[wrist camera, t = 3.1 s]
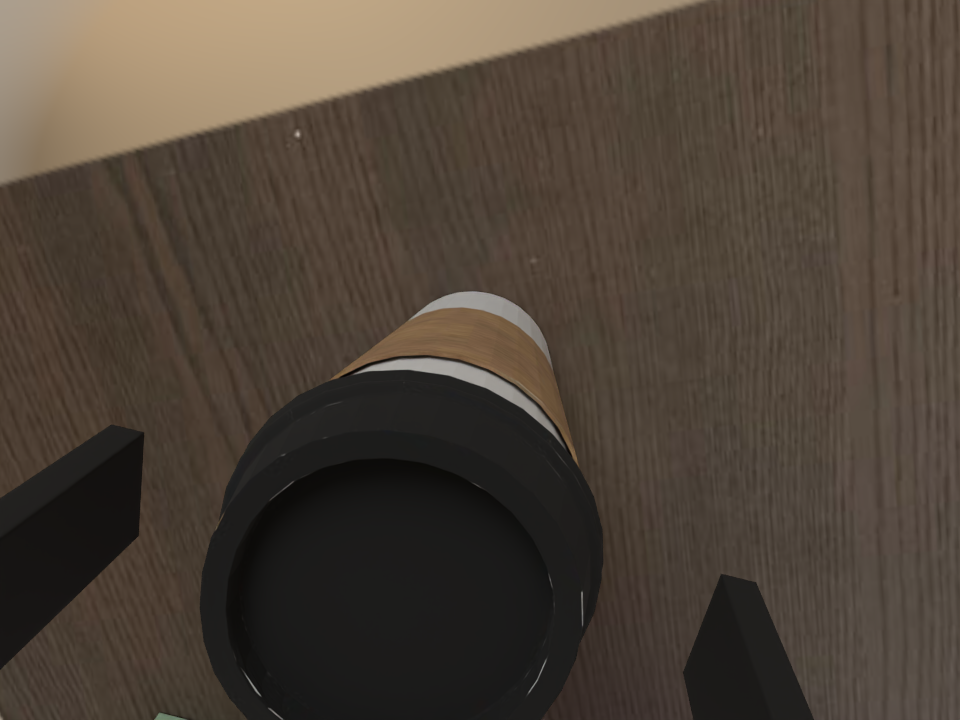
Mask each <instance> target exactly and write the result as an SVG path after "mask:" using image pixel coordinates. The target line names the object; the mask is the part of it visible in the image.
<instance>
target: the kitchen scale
mask: <svg viewBox="0 0 960 720" xmlns="http://www.w3.org/2000/svg"><path fill="white" fill-rule="evenodd" d="M155 720H187V719H183V718H179V717H175V716H171V715H167V714H163V713H159V714H158V715H157V717H156V718H155Z"/></svg>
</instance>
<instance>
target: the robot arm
mask: <svg viewBox="0 0 960 720" xmlns="http://www.w3.org/2000/svg"><path fill="white" fill-rule="evenodd" d="M143 445H144V432H140V431H136V430H132V429H128V428H124V427H119V426H115V425H110V426H109V427H107V428H106V429H104V430H103V431H101V432H100V433H98V434H97V435H95V436H94V437H92V438H91V439H89V440H88V441H86V442H85V443H83V444H82V445H80V446H79V447H77V448H76V449H74V450H73V451H71V452H69V453H68V454H66V455H65V456H63V457H62V458H60V459H59V460H57V461H56V462H54V463H53V464H51V465H50V466H48V467H47V468H45V469H44V470H42V471H41V472H39V473H38V474H36V475H35V476H33V477H32V478H30V479H29V480H27V481H26V482H24V483H23V484H21V485H20V486H18V487H17V488H15V489H14V490H12V491H11V492H9V493H8V494H6V495H5V496H3V497H2V498H0V669H1V668H2V667H3V666H4V665H6V664H7V663H8V662H9V661H10V660H11V659H12V658H13V657H14V656H15V655H16V654H17V653H18V652H19V651H20V650H21V649H22V648H23V647H24V646H25V645H26V644H27V643H28V642H29V641H30V640H31V639H32V638H33V637H34V636H35V635H37V634H38V633H39V632H40V631H41V630H42V629H43V628H44V627H45V626H46V625H47V624H48V623H49V622H50V621H51V620H52V619H53V618H54V617H55V616H56V615H57V614H58V613H59V612H60V611H61V610H62V609H63V608H64V607H65V606H67V605H68V604H69V603H70V602H71V601H72V600H73V599H74V598H75V597H76V596H77V595H78V594H79V593H80V592H81V591H82V590H83V589H84V588H85V587H86V586H87V585H88V584H89V583H90V582H91V581H92V580H93V579H94V578H95V577H96V576H98V575H99V574H100V573H101V572H102V571H103V570H104V569H105V568H106V567H107V566H108V565H109V564H110V563H111V562H112V561H113V560H114V559H115V558H116V557H117V556H118V555H119V554H120V553H121V552H122V551H123V550H124V549H125V548H126V547H127V546H129V545H130V544H131V543H132V542H133V541H134V540H135V539H136V538H137V537H138V536H139V519H140V500H141V482H142V463H143ZM683 674H684V679H685V683H686V688H687V692H688V697H689V701H690V706H691V711H692V715H693V720H814V719H813V716H812V714H811V711H810V709H809V707H808V704H807V702H806V700H805V697H804V695H803V692H802V690H801V688H800V685H799V683H798V681H797V678H796V676H795V674H794V671H793V669H792V666H791V664H790V662H789V659H788V657H787V655H786V652H785V650H784V647H783V645H782V643H781V640H780V638H779V636H778V633H777V631H776V629H775V626H774V624H773V621H772V619H771V617H770V614H769V612H768V610H767V607H766V605H765V602H764V600H763V598H762V595H761V593H760V591H759V588H758V586H757V584H756V582H752V581H748V580H744V579H740V578H736V577H732V576H728V575H723V574H721V576H720V578H719V581H718V584H717V586H716V589H715V591H714V594H713V597H712V599H711V602H710V604H709V607H708V609H707V612H706V615H705V617H704V620H703V622H702V625H701V628H700V630H699V633H698V635H697V638H696V640H695V643H694V646H693V648H692V651H691V653H690V656H689V659H688V661H687V664H686V666H685V669H684V671H683Z"/></svg>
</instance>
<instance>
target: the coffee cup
mask: <svg viewBox="0 0 960 720" xmlns="http://www.w3.org/2000/svg"><path fill="white" fill-rule="evenodd" d="M602 567H603V534H602V526H601V523H600V519H599V515H598V511H597V507H596V503H595V499H594V496H593V494H592V492H591V490H590V488H589V486H588V484H587V482H586V480H585V478H584V476H583V474H582V473H581V471H580V469H579V465H578V461H577V457H576V453H575V450H574V446H573V442H572V439H571V435H570V431H569V427H568V424H567V420H566V416H565V413H564V409H563V405H562V402H561V398H560V394H559V390H558V387H557V383H556V379H555V376H554V372H553V368H552V363H551V358H550V354H549V350H548V347H547V343H546V341H545V339H544V337H543V335H542V333H541V331H540V329H539V327H538V326H537V325H536V323H535V322H534V321H533V320H532V318H531V317H530V316H529V315H528V314H527V313H526V312H524V311H523V310H522V309H521V308H520V307H519V306H517V305H515V304H514V303H512V302H510V301H508V300H507V299H505V298H502V297H499V296H496V295H493V294H490V293H483V292H476V291H473V292H458V293H454V294H450V295H446V296H444V297H441V298H439V299H437V300H435V301H433V302H431V303H430V304H428V305H427V306H426V307H424V308H423V309H422V310H421V311H419V312H418V313H417V314H416V315H414V316H413V317H412V318H411V319H410V320H409V321H407V322H406V323H404V324H403V325H402V326H400V327H399V328H398V329H397V330H395V331H394V332H393V333H391V334H390V335H389V336H387V337H386V338H385V339H383V340H382V341H381V342H379V343H378V344H377V345H375V346H374V347H373V348H371V349H370V350H369V351H367V352H366V353H365V354H363V355H362V356H361V357H359V358H358V359H357V360H355V361H354V362H353V363H351V364H350V365H349V366H347V367H346V368H345V369H343V370H342V371H341V372H339V373H338V374H337V375H336V376H334V377H333V378H332V379H330V380H329V381H328V382H326V383H324V384H322V385H319V386H317V387H315V388H313V389H311V390H309V391H307V392H305V393H303V394H301V395H298V396H297V397H296V398H294V399H293V400H292V401H291V402H289V403H288V404H287V405H285V406H284V407H283V408H282V409H280V410H279V411H278V412H276V413H275V414H274V415H273V416H271V417H270V418H269V420H268V421H267V422H266V423H265V424H264V426H263V427H262V428H261V429H260V430H259V432H258V433H257V434H256V435H255V436H254V438H253V439H252V440H251V441H250V443H249V444H248V446H247V448H246V450H245V452H244V454H243V455H242V457H241V458H240V460H239V462H238V465H237V467H236V469H235V471H234V473H233V475H232V477H231V479H230V481H229V483H228V485H227V487H226V491H225V496H224V500H223V505H222V509H221V514H220V518H219V523H218V525H217V527H216V529H215V531H214V533H213V535H212V537H211V540H210V544H209V548H208V552H207V556H206V560H205V564H204V567H203V571H202V582H201V596H200V614H201V622H202V631H203V639H204V643H205V646H206V650H207V653H208V656H209V659H210V662H211V665H212V668H213V671H214V673H215V675H216V676H217V678H218V680H219V681H220V683H221V685H222V687H223V688H224V690H225V692H226V693H227V695H228V697H229V698H230V699H231V701H232V702H233V703H234V704H235V705H236V706H237V707H238V709H239V710H240V711H241V712H242V713H243V714H244V715H245V717H246V718H247V719H248V720H541V719H542V717H543V716H544V714H545V713H546V712H547V710H548V709H549V707H550V706H551V705H552V703H553V702H554V700H555V699H556V698H557V696H558V695H559V693H560V692H561V691H562V689H563V686H564V684H565V682H566V680H567V677H568V675H569V673H570V671H571V669H572V666H573V664H574V662H575V660H576V656H577V652H578V647H579V643H580V642H581V640H582V637H583V635H584V633H585V631H586V629H587V627H588V625H589V622H590V620H591V618H592V616H593V614H594V611H595V607H596V602H597V598H598V593H599V588H600V583H601V579H602V574H601V572H602Z"/></svg>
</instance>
